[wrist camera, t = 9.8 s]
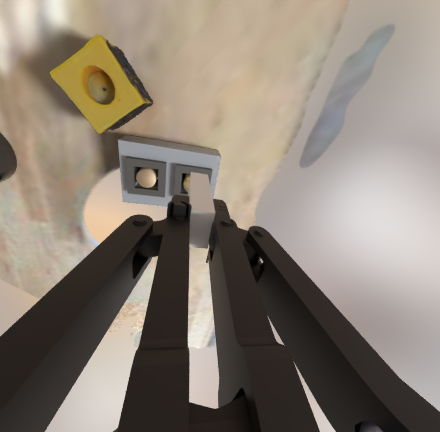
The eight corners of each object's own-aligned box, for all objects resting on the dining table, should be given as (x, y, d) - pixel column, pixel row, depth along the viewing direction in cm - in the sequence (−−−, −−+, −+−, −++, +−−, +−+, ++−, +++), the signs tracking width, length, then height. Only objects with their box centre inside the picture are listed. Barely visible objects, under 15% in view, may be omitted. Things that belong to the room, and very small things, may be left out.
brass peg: (184, 180, 50) (182, 192, 43) (185, 165, 47) (184, 175, 41) (199, 182, 50) (200, 194, 44) (201, 167, 48) (202, 177, 42)
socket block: (130, 191, 49) (121, 204, 43) (126, 134, 42) (115, 140, 36) (209, 200, 54) (211, 213, 48) (218, 150, 47) (221, 158, 41)
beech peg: (143, 175, 48) (136, 186, 41) (143, 159, 46) (135, 168, 39) (160, 177, 48) (155, 188, 42) (160, 161, 46) (155, 171, 40)
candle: (117, 129, 42) (99, 136, 33) (79, 79, 36) (44, 73, 28) (155, 103, 40) (145, 105, 32) (120, 47, 35) (97, 31, 26)
